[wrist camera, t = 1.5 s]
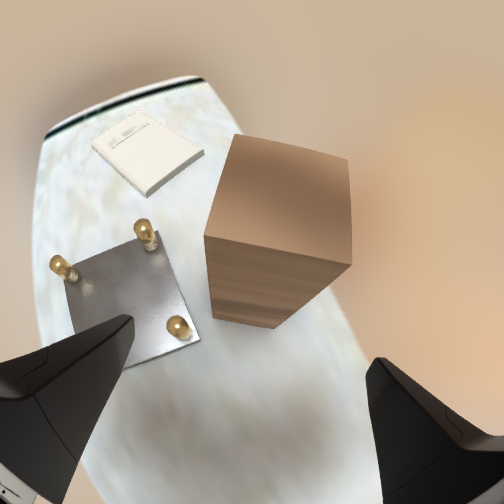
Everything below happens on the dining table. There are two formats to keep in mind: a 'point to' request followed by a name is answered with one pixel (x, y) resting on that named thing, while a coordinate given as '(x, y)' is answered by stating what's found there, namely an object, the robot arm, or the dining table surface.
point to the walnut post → (276, 230)
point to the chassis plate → (130, 294)
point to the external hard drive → (146, 151)
